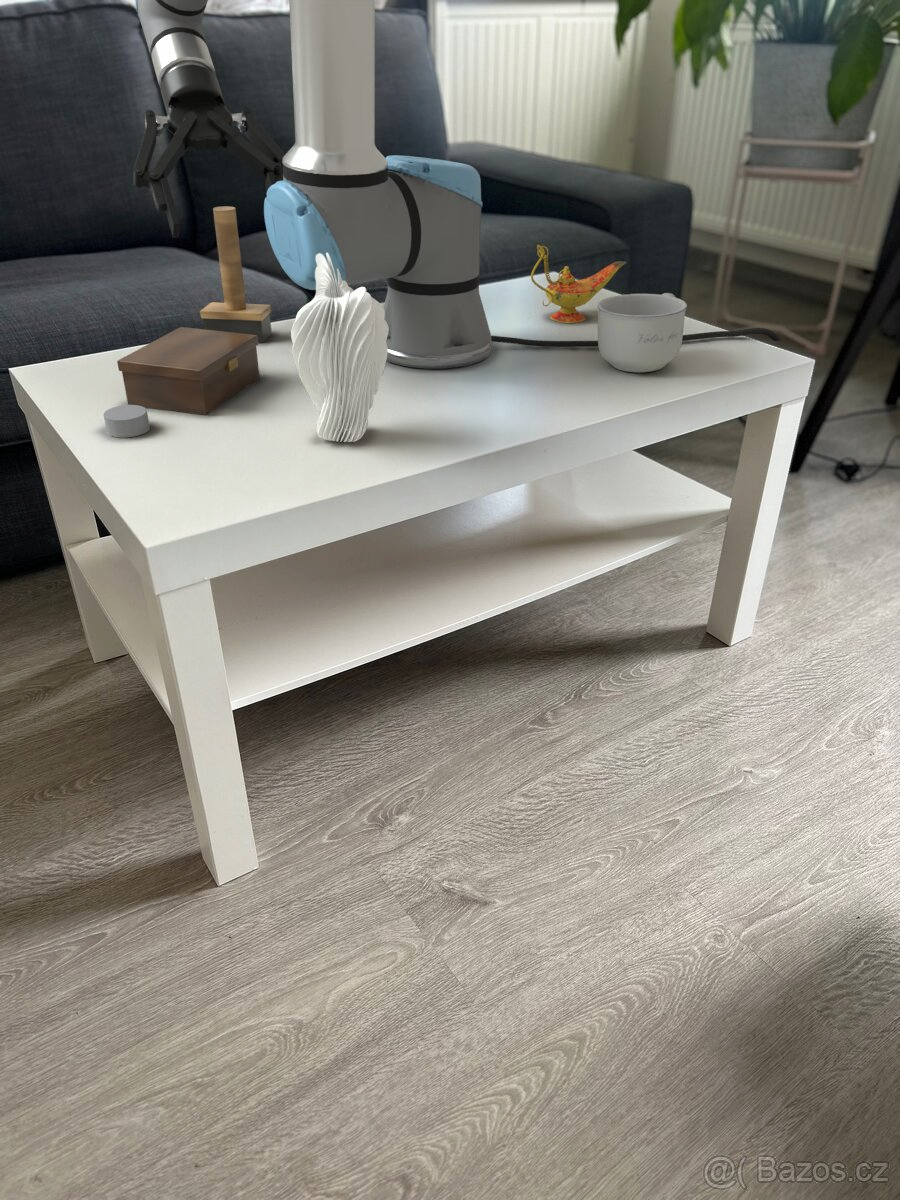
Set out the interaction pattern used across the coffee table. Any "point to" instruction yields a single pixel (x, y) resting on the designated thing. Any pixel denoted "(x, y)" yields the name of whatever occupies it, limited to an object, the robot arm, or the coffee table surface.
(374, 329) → the shell sculpture
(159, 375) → the walnut box
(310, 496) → the coffee table surface
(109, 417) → the felt pad
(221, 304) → the brush
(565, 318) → the magic lamp
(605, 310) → the teacup
